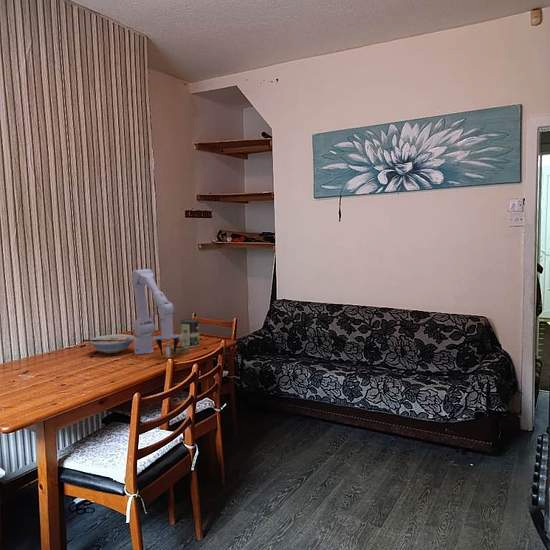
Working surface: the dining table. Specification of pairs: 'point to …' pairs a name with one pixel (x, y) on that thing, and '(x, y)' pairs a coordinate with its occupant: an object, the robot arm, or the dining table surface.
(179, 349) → the square wooden frame
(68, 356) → the dining table surface
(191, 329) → the coffee can
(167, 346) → the white banded cylinder
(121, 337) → the ramen bowl
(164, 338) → the robot arm
